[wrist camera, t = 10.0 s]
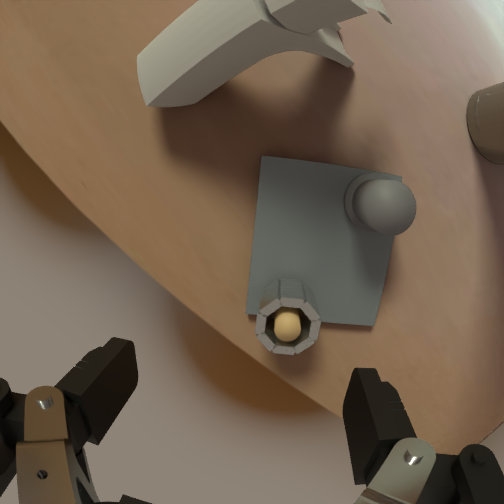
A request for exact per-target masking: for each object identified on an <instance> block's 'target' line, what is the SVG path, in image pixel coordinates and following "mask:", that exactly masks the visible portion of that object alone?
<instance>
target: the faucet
mask: <svg viewBox="0 0 504 504" xmlns="http://www.w3.org/2000/svg"><path fill="white" fill-rule="evenodd" d="M366 7H369V8H372V9H375V10H377V11H378V12H379V14H380V15H381V16H382V17H383V18H384V19H385V20H386V21H387V22H389V23H391V21H390V18H389V16H388V14H387V12H386V10H385V8H384V6H383V3H382V1H381V0H199V1H197V2H196V3H195V4H194V5H192V6H191V7H190V8H189V9H188V10H186V11H185V12H184V13H183V14H182V15H180V16H179V17H178V18H177V19H176V20H175V21H173V22H172V23H171V24H170V25H169V26H168V27H167V28H166V29H165V30H163V31H162V32H161V33H160V34H159V35H158V36H157V37H156V38H155V39H154V40H153V41H152V42H151V43H150V44H149V45H148V46H147V47H146V48H145V49H144V50H143V51H142V52H141V53H140V54H139V55H138V56H137V71H138V78H139V84H140V88H141V92H142V95H143V98H144V101H145V104H146V106H151V107H178V106H186V105H191V104H195V103H197V102H198V101H200V100H201V99H202V98H204V97H205V96H207V95H208V94H210V93H211V92H212V91H214V90H215V89H217V88H218V87H220V86H221V85H223V84H224V83H226V82H227V81H229V80H230V79H232V78H233V77H235V76H236V75H238V74H239V73H241V72H242V71H244V70H246V69H247V68H249V67H250V66H252V65H254V64H255V63H257V62H259V61H260V60H262V59H264V58H266V57H268V56H271V55H274V54H277V53H281V52H286V51H305V52H309V53H313V54H317V55H320V56H323V57H326V58H329V59H331V60H334V61H336V62H338V63H340V64H342V65H344V66H345V67H347V68H348V67H351V66H353V65H354V61H353V59H351V58H350V57H349V56H348V55H347V54H345V51H344V48H343V45H342V43H341V40H340V37H339V35H338V32H337V31H339V30H340V29H341V27H340V24H339V22H342V21H345V20H348V19H351V18H354V17H357V16H360V15H363V14H366V13H368V10H367V8H366ZM391 24H392V23H391Z"/></svg>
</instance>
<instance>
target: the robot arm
mask: <svg viewBox="0 0 504 504" xmlns="http://www.w3.org/2000/svg"><path fill="white" fill-rule="evenodd" d="M467 123H468V128H469V132H470V135H471V137H472V140H473V142H474V144H475V146H476V147H477V149H478V150H479V152H480V153H481V154H482V155H483V156H484V157H485V158H486V159H488V160H489V161H491V162H493V163H496V164H504V82H502V83H499V84H496V85H493V86H490V87H488V88H485V89H482V90H480V91H477V92H476V93H475V94H474V95H472V97H471V99H470V100H469V104H468V107H467ZM137 383H138V369H137V362H136V354H135V347H134V343H133V342H132V341H129V340H125V339H120V338H116V337H113V338H111V339H110V340H109V341H108V342H107V343H106V344H105V345H104V346H103V347H98V348H96V349H94V350H92V351H90V352H88V353H87V354H86V355H85V356H84V357H83V358H82V360H81V361H79V362H78V363H77V364H76V366H75V367H73V368H72V369H71V370H70V372H68V373H67V374H66V375H65V376H64V377H63V378H62V379H61V380H60V381H59V382H58V383H57V384H56V385H55V386H54V387H51V386H41V387H37V388H35V389H33V390H31V391H30V392H29V393H28V395H26V394H20V393H15V392H11V389H10V387H9V385H8V382H7V381H6V380H4V379H2V378H0V497H1V495H2V494H3V492H4V491H5V489H6V488H7V486H8V485H9V483H10V482H11V480H12V479H13V477H14V476H15V475H16V473H17V485H18V497H19V504H152V503H148V502H145V501H142V500H138V499H136V498H132V497H129V496H127V495H122V497H121V500H120V502H100V500H99V498H98V496H97V494H96V491H95V489H94V486H93V482H92V478H91V474H90V470H89V467H88V462H87V458H86V454H85V449H84V447H83V446H84V444H85V443H86V442H87V441H88V442H91V443H93V444H96V445H99V443H100V442H101V440H102V439H103V437H104V436H105V434H106V433H107V431H108V430H109V428H110V426H111V425H112V423H113V422H114V420H115V419H116V417H117V416H118V414H119V413H120V411H121V410H122V408H123V407H124V405H125V404H126V402H127V401H128V399H129V398H130V396H131V395H132V393H133V391H134V390H135V388H136V386H137ZM343 419H344V425H345V430H346V435H347V441H348V446H349V452H350V458H351V464H352V470H353V475H354V482H355V485H360V484H366V487H367V488H366V489H365V490H364V491H363V492H362V494H361V495H360V496H359V498H358V499H357V500H356V502H355V503H354V504H504V475H503V472H502V470H501V468H500V466H499V464H498V462H497V460H496V458H495V456H494V454H493V452H492V451H490V449H489V448H487V447H485V446H483V445H479V444H471V445H468V446H466V447H465V448H463V450H462V451H461V452H460V454H459V455H447V454H438V453H435V450H434V448H433V447H432V446H431V445H430V444H429V443H428V442H426V441H424V440H422V439H419V438H417V436H416V434H415V432H414V429H413V427H412V424H411V422H410V420H409V417H408V415H407V413H406V410H404V406H403V403H402V402H401V399H400V396H399V394H398V392H397V390H396V389H395V388H394V387H393V386H392V385H391V384H390V383H389V382H381V380H380V377H379V375H378V372H377V370H376V369H375V368H355V369H354V370H353V372H352V376H351V379H350V382H349V386H348V389H347V392H346V395H345V399H344V403H343Z"/></svg>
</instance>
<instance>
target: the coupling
mask: <svg viewBox="0 0 504 504" xmlns="http://www.w3.org/2000/svg"><path fill="white" fill-rule="evenodd" d="M281 306H284V307H293V308H301V309H302V311H303V312H304V313H305V314H303V315H302V316H300V317H299V318H300V326H301V332H300V335H299V336H298V337H297V338H296V339H294V340H292V341H282V340H280V339H279V338H278V337H277V336H276V335H275V331H274V328H275V318H274V317H273V316H272V315H271V313H273V312H274V311H276V310H277V309H279V308H280V307H281ZM320 324H321V317H320V314H319V310H318V306H317V303H316V299H315V296H314V294H313V293H312V292H311V290H310V289H309V288H308V287H307V285H306V284H305V283H304V282H301V280H297V279H289V278H281V280H279V279H276V280H275V281H274V282H272V283H271V284H270V285H268V286H267V287H266V288H264V289H263V290H262V292H261V295H260V300H259V306H258V312H257V320H256V328H255V334H256V337H257V338H258V340H259V341H260V342H261V343H262V344H263V345H264V346H265V347H266V348H267V349H268V350H269V351H271V350H273V353H278V354H287V355H294V353H295V352H296V353H297V354H299V353H300V352H302V351H304V350H305V349H307V348H308V347H310V346H311V345H313V344H314V343H315V340H317V339H318V334H319V329H320Z"/></svg>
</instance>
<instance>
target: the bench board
mask: <svg viewBox="0 0 504 504" xmlns="http://www.w3.org/2000/svg"><path fill="white" fill-rule="evenodd" d="M415 214H416V201H415V198H414V195H413V193H412V192H411V190H410V189H409V188H408V187H407V186H406V185H405V184H403V183H402V177H401V176H396V175H391V174H386V173H381V172H375V171H370V170H364V169H359V168H353V167H347V166H340V165H334V164H327V163H320V162H313V161H305V160H297V159H289V158H280V157H270V156H262V157H261V167H260V177H259V187H258V197H257V207H256V217H255V227H254V237H253V247H252V257H251V267H250V277H249V287H248V297H247V307H246V314H253V315H257V312H258V306H259V300H260V295H261V292H262V290H263V289H264V288H266V287H267V286H268V285H270V284H271V283H272V282H274V281H275V280H276V279H279V280H281V278H289V279H297V280H301V282H304V283H305V284H306V285H307V287H308V288H309V289H310V290H311V292H312V293H313V294H314V296H315V299H316V303H317V306H318V310H319V314H320V317H321V322H328V323H340V324H353V325H367V326H374V324H375V320H376V316H377V312H378V308H379V304H380V300H381V296H382V292H383V287H384V283H385V278H386V274H387V269H388V264H389V259H390V254H391V249H392V243H393V238H394V235H398V234H401V233H403V232H404V231H406V230H407V229H408V228H409V227H410V225H411V224H412V222H413V220H414V218H415ZM303 314H305V313H304V312H303V311H302V309H301V308H293V307H284V306H281V307H280V308H279V309H277V310H276V311H274V312H273V313H271V315H272V316H273V317H274V318H275V328H274V331H275V335H276V336H277V337H278V338H279V339H280V340H282V341H292V340H294V339H296V338H297V337H298V336H299V335H300V332H301V326H300V318H299V317H300V316H302V315H303Z"/></svg>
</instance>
